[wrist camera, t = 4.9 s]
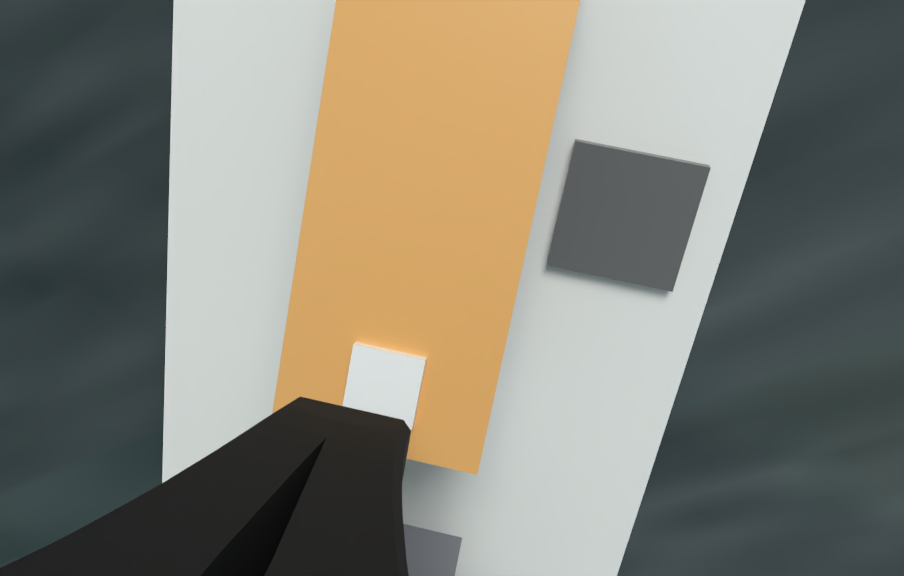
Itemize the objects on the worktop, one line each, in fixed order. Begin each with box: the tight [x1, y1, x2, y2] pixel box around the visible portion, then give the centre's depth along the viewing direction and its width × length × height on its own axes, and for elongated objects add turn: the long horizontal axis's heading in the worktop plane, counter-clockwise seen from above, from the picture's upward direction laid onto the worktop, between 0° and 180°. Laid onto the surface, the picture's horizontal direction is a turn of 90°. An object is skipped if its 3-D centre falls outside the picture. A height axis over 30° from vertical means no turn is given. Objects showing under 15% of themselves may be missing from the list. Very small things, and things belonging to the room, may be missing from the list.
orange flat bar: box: [272, 0, 580, 475], centre depth 10 cm, size 3×7×1 cm, turn 170°
